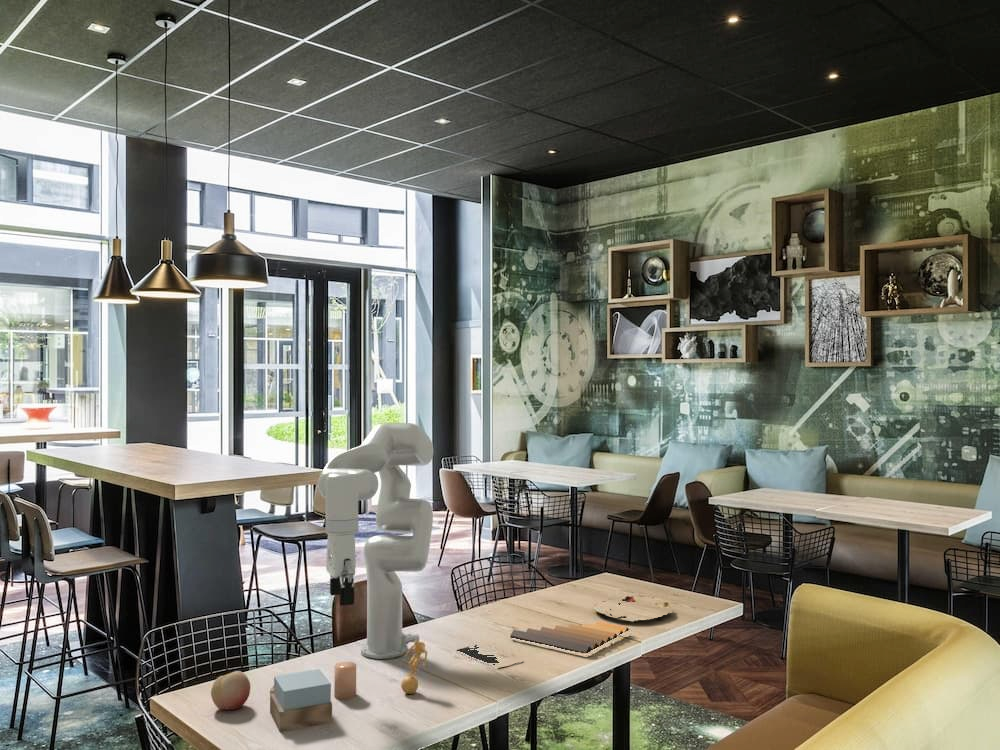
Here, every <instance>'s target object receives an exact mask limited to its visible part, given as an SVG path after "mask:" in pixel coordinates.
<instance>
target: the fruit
mask: <svg viewBox="0 0 1000 750" xmlns="http://www.w3.org/2000/svg"><path fill="white" fill-rule="evenodd" d="M250 694H251V682H250V680H249V677H248V676H247V675H246V674H245V673H244V672H242V671H241V670H235V671H232V672H229V673H226V674H225V675H220V676H218V677H216V679H215V680H214V682H213V683H212V687H211V691H210V695H211V700H212V702H213V704H214V706H215V707H216V708H218V709H219V710H228V711H235V710H237V709H239V708H241V707H242V706H244V704H246V703H247V701H248V699H249V697H250ZM234 709H235V710H234Z"/></svg>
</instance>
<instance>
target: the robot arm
mask: <svg viewBox="0 0 1000 750" xmlns="http://www.w3.org/2000/svg"><path fill="white" fill-rule="evenodd" d="M433 456H434V444H433V442H432V439H431V437H430V436H429V435H428V434H427V433H426V432H425V431H424V430H423V428H422V427H420V426H419V425H417V424H415V423H411V422H383V423H382V422H381V423H378V424H376V425H375V426H374V427H372V428H371V430H370V431H369V433H368V434H367V435H366V437H365V438H364V439H363V441H362V443H361V444H360V445H358V446H355V447H353V448H350V449H348V450H347V451H344V452H342V453H339V454H338V455H335V456H334V457H333V458H331V459H330V460H329V461H328V462H327V463H326V465H325V467H324V468H323V469H322V471H321V472H320V475H319V478H318V481H317V488H318V493H319V494H320V495H321V497H323V498H324V499H325V534H326V535H327V539H326V540H327V541H326V542H327V543H326V560H325V561H326V565H325V566H326V567H325V569H326V572H327V573H328V574H329V577H330V578H329V583H330V584H329V594H330V596H339V606H340V607H342V606H345V607H346V606H351V605H354V604H355V580H354V579H355V578H354V576H355V575H356V561H357V560H356V537H355V535H356V534H357V533H359V501H367V500H370V499H371V498H373V497H374V496H375V495H376V494H377V492H378V489H379V478H378V476H377V474H376V473H378V474H379V477H380V491H379V497H378V501H377V507H376V513H375V514H376V515H375V525H376V528H377V529H378V530H380V531H382V532H387V533H395V534H396V533H399V534H412V535H397V534H396V535H394V534H379V535H374V536H371V537H370V538H368V539H367V540H366V542H365V544H364V547H363V558H364V564H365V570H366V583H367V585H366V586H367V590H366V591H367V593H366V595H367V596H366V597H367V598H366V601H367V602H366V603H367V604H366V608H367V609H366V610H367V611H366V614H367V615H366V621H367V622H366V644H364V645H362V646H361V648H360V652H361V654H362V655H363V656H364V657H366V658H369V659H378V660H383V659H384V660H385V659H394V658H397V657H401V656H403V655H404V656H405V655H406V653H407V651H408V650H409V646H408V644H409V643H415V641H416V640H417V641H418V642H420V634H412V633H406V634H405V633H404V632H403V585H402V582H401V581H402V580H400V577H398V575H397V573H396V572H404V573H405V572H407V573H409V572H410V573H417V572H422V571H423V570H424V569H425V568H426V566H427V563H428V559H429V554H430V545H431V537H432V530H433V521H434V513H433V512H434V511H433V508H432V504H431V503H430V502H429V501H428V500H427V499H422V498H410V496H411V489H412V483H411V480H410V478H409V476H408V475H407V474H406V473H405V472H404V470H403V469H402V468H401V467H400V466H415V467H417V466H420V467H421V466H422V467H423V466H426V465H428V464H430V463H431V461H432V460H433Z"/></svg>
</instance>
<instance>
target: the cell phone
mask: <svg viewBox="0 0 1000 750" xmlns="http://www.w3.org/2000/svg"><path fill="white" fill-rule="evenodd" d="M474 645H475V646H474V647H475V648H469V647H470V646H466V647H463V648H458V649H456V652H457V651H460V652H463V653H465V654H467V655H469V656H471V657H474V658H476V659H479V660H482V661H484V662H487V663H499V662H498V661H497V660H495V659H497V658H496V657H487V656H494V655H482V654H478V652H479V651H477V650H475V649H477V648H479V647H476V646H477V644H474ZM470 649H474V650H470ZM468 650H469V651H468ZM493 665H495V664H493Z"/></svg>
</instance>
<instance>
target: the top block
mask: <svg viewBox="0 0 1000 750" xmlns="http://www.w3.org/2000/svg"><path fill="white" fill-rule="evenodd" d="M273 678H274V679H273V686H274V695H275V697H276V699H277V700H278V702H279V704H280V706H281V707H282V709H283V711H285V710H291V709H296V708H302V707H307V706H313V705H318V704H324V703H329V702H332V699H331V698H332V683H331V682H330V681H329V679H328V678H327V677H326V676H325V674H324V673H323V672H322V670H321V669H320V668H317V669H312V670H305V671H299V672H293V673H286V674H281V675H280V674H279V675H274V676H273Z"/></svg>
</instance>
